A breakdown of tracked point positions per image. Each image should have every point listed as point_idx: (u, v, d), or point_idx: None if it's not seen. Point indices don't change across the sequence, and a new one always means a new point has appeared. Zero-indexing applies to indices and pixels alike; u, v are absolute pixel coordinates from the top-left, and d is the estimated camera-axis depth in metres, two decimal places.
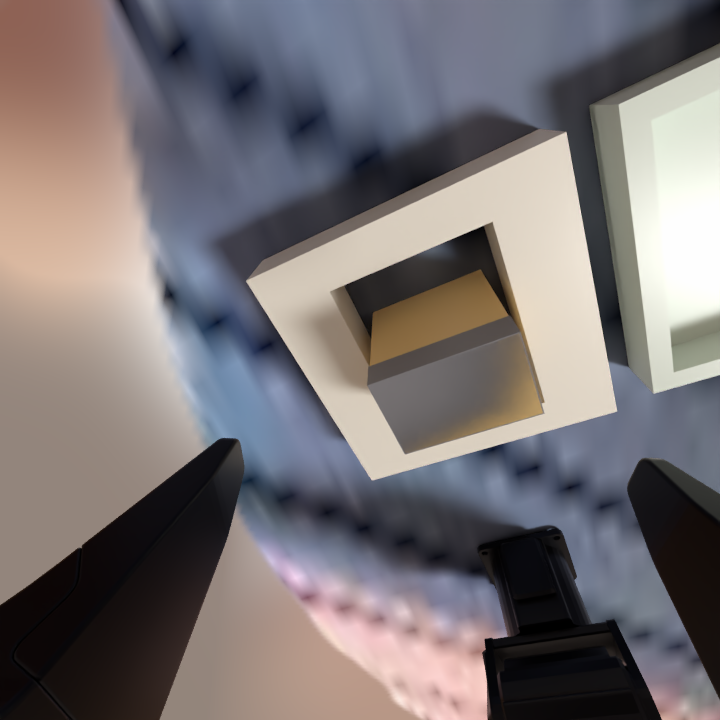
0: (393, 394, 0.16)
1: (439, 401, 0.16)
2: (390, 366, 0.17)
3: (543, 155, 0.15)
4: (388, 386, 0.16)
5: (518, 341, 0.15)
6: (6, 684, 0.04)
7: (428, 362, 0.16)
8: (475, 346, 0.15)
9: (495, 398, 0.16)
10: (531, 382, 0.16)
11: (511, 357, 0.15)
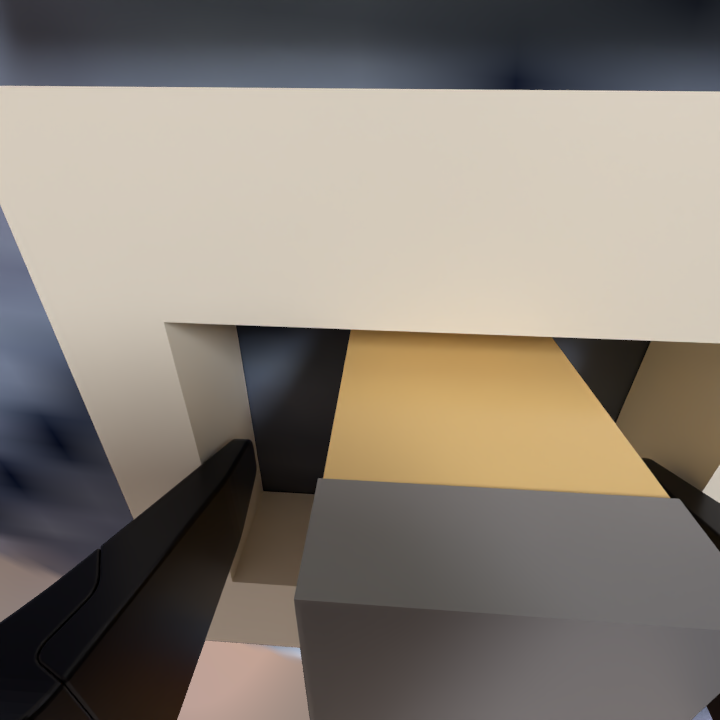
0: None
1: None
2: None
3: (12, 164, 0.06)
4: None
5: (334, 613, 0.04)
6: (33, 686, 0.04)
7: None
8: (305, 675, 0.04)
9: (547, 702, 0.04)
10: (563, 630, 0.03)
11: (395, 639, 0.04)
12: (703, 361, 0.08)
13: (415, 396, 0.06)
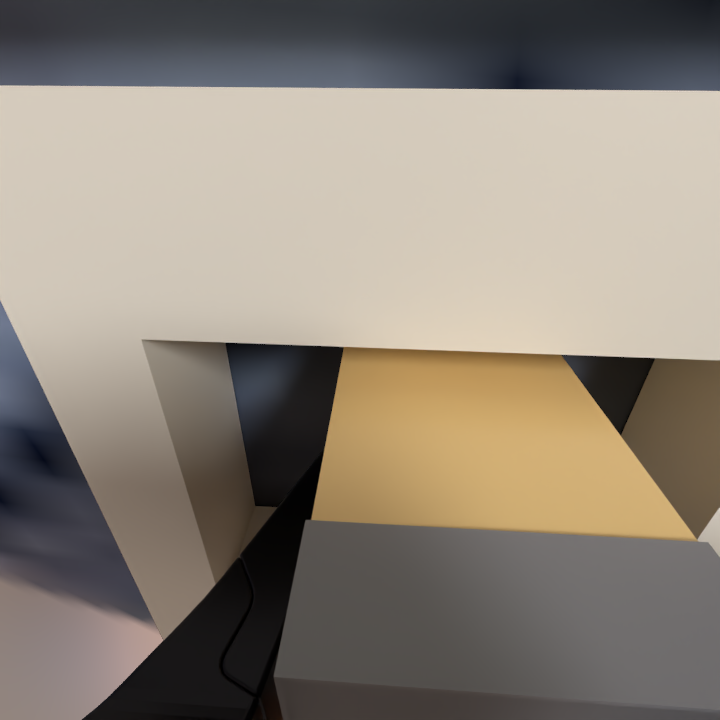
0: None
1: None
2: None
3: None
4: None
5: (321, 691, 0.03)
6: (232, 701, 0.04)
7: None
8: None
9: None
10: (585, 710, 0.03)
11: (391, 717, 0.03)
12: (715, 375, 0.08)
13: (413, 419, 0.06)
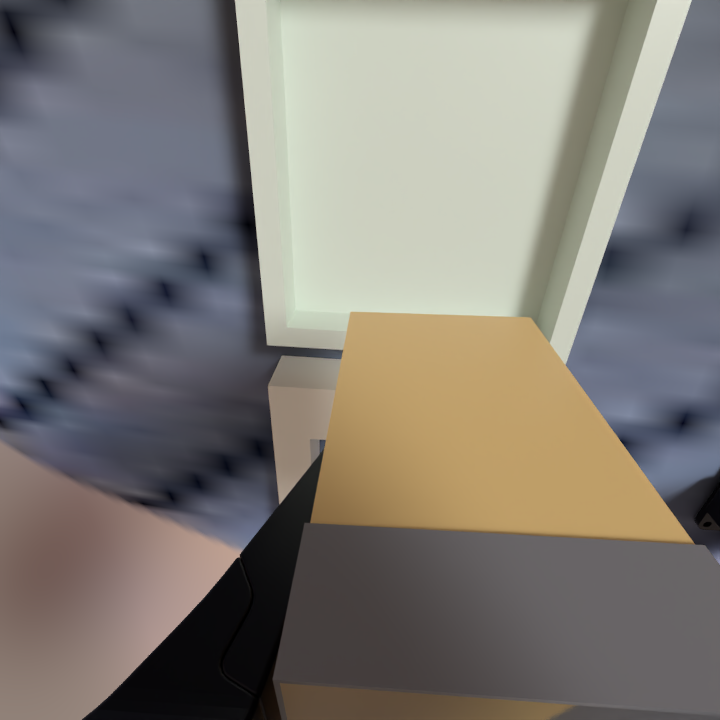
0: None
1: None
2: None
3: (277, 401, 0.20)
4: None
5: (320, 694, 0.03)
6: (232, 701, 0.04)
7: None
8: None
9: None
10: (582, 713, 0.03)
11: (389, 718, 0.03)
12: None
13: (412, 422, 0.06)
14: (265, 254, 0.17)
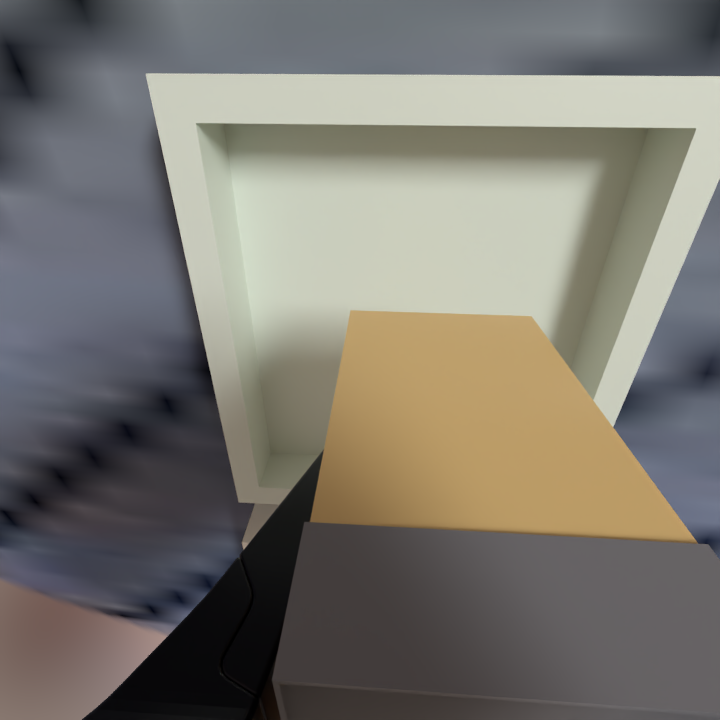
0: None
1: None
2: None
3: None
4: None
5: (319, 695, 0.03)
6: (232, 702, 0.04)
7: None
8: None
9: None
10: (585, 714, 0.03)
11: (390, 719, 0.03)
12: None
13: (413, 420, 0.06)
14: (229, 423, 0.15)
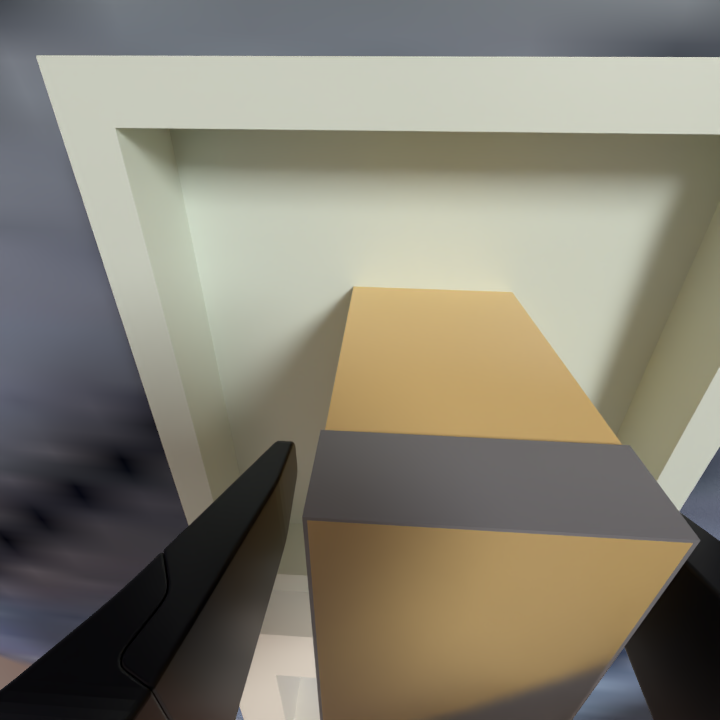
0: None
1: (439, 685, 0.06)
2: None
3: None
4: (342, 719, 0.07)
5: (335, 529, 0.04)
6: (123, 694, 0.04)
7: None
8: (310, 596, 0.05)
9: (516, 615, 0.05)
10: (523, 540, 0.04)
11: (386, 554, 0.05)
12: None
13: (406, 366, 0.07)
14: (190, 502, 0.12)
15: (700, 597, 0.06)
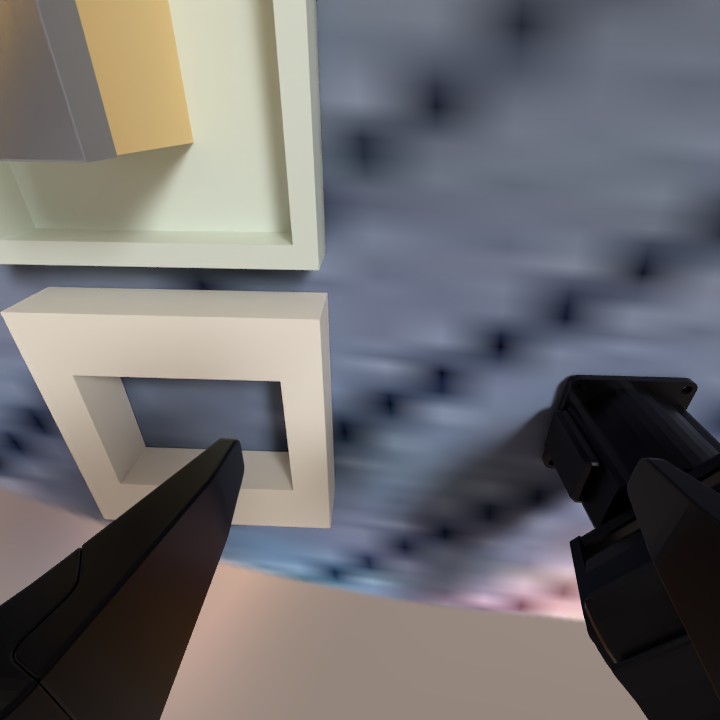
0: None
1: None
2: None
3: (18, 330, 0.18)
4: None
5: None
6: (9, 683, 0.04)
7: None
8: None
9: None
10: None
11: None
12: None
13: None
14: None
15: None
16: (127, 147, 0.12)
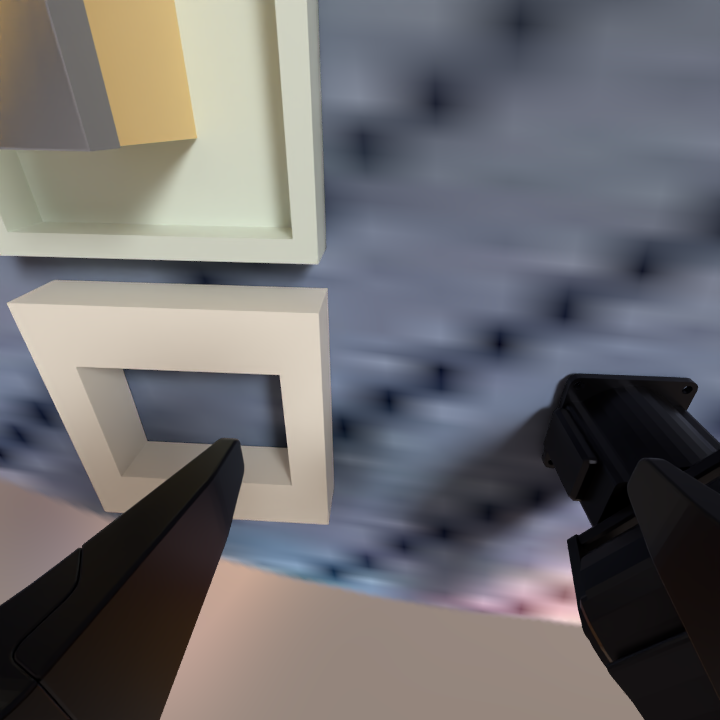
0: None
1: None
2: None
3: (24, 321, 0.18)
4: None
5: None
6: (7, 685, 0.04)
7: None
8: None
9: None
10: None
11: None
12: None
13: None
14: None
15: None
16: (130, 139, 0.12)
